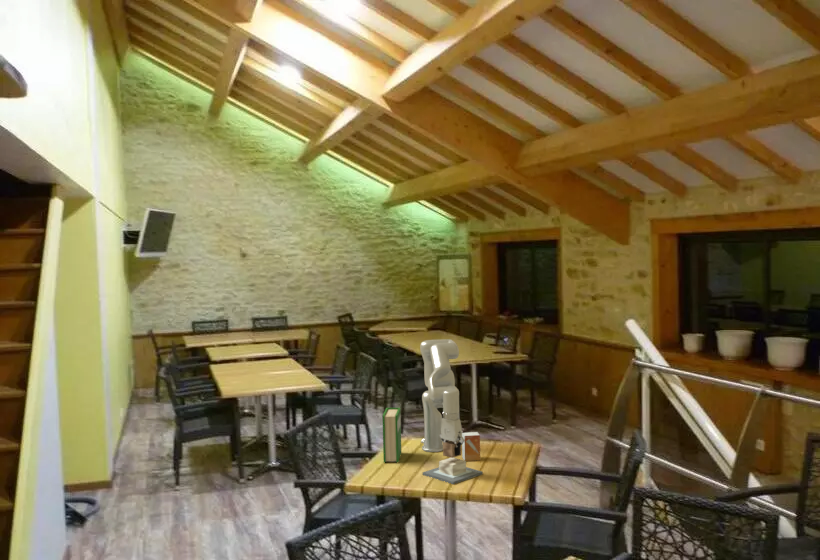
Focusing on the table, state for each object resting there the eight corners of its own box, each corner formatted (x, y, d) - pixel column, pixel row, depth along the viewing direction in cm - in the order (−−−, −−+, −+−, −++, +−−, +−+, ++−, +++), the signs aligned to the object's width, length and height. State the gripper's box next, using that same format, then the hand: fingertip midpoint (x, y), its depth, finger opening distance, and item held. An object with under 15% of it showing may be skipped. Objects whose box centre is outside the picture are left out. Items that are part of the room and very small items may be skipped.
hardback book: (398, 463, 349) (397, 415, 348) (383, 463, 350) (382, 415, 349) (401, 452, 367) (400, 407, 366) (387, 452, 367) (386, 407, 366)
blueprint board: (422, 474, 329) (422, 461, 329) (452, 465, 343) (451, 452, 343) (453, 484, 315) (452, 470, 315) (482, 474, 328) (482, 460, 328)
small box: (464, 461, 349) (464, 435, 348) (462, 457, 355) (461, 432, 355) (480, 460, 350) (480, 434, 349) (477, 456, 356) (477, 431, 356)
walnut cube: (443, 455, 329) (442, 442, 328) (452, 452, 333) (451, 440, 332) (452, 457, 324) (452, 445, 324) (461, 455, 328) (460, 442, 328)
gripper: (432, 414, 332) (433, 452, 332) (459, 420, 319) (460, 459, 319) (443, 411, 337) (444, 448, 337) (470, 417, 324) (471, 455, 325)
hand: (452, 453), depth 328 cm, fingers closed on walnut cube, 6 cm apart
